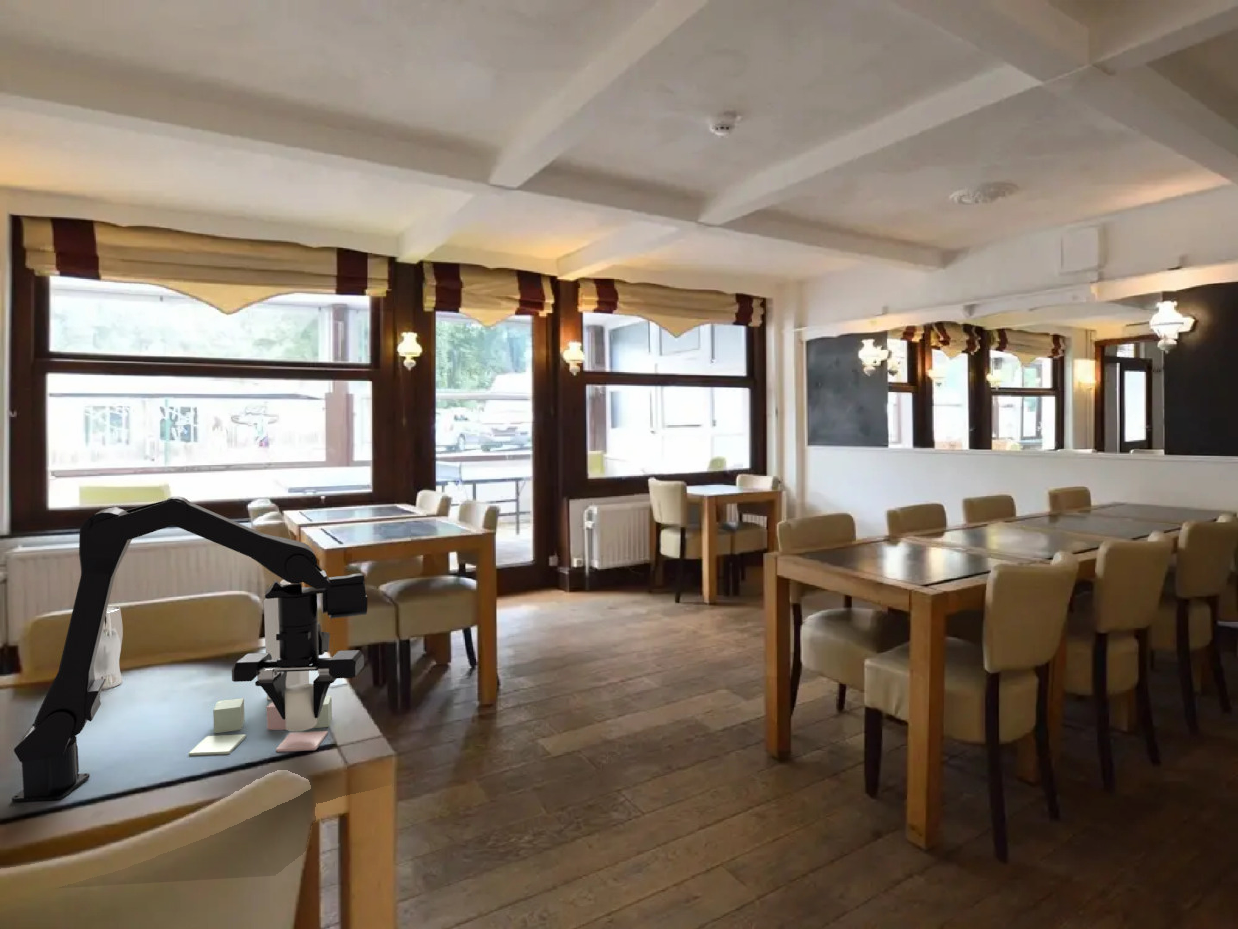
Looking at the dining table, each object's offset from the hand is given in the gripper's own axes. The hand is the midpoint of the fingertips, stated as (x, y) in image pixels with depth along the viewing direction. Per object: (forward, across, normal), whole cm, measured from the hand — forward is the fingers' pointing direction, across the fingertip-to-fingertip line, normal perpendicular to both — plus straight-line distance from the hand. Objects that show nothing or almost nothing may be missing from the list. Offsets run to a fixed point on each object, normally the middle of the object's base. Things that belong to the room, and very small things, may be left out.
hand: (301, 717), depth 115 cm
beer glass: (+4, +48, -30) cm, 57 cm away
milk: (+4, +10, -22) cm, 25 cm away
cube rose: (+4, +5, -8) cm, 10 cm away
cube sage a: (+4, 0, -8) cm, 9 cm away
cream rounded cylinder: (+1, 0, 0) cm, 1 cm away
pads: (+4, +6, 0) cm, 8 cm away
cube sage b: (+4, +14, -8) cm, 17 cm away
